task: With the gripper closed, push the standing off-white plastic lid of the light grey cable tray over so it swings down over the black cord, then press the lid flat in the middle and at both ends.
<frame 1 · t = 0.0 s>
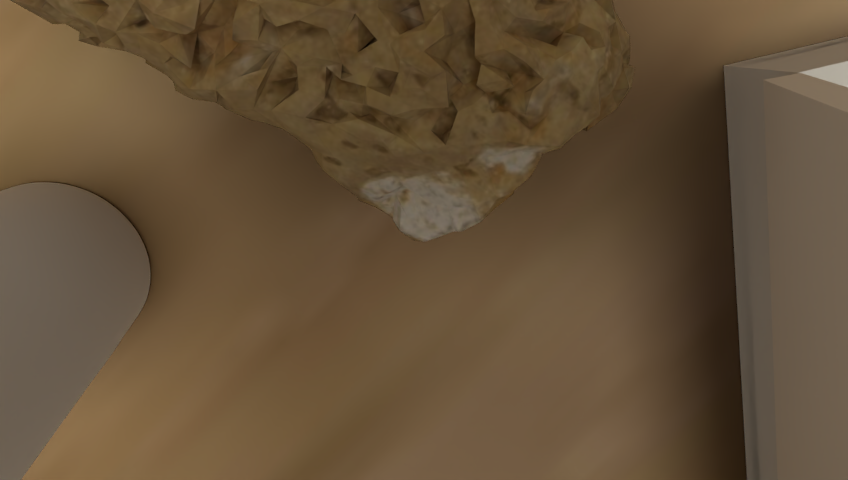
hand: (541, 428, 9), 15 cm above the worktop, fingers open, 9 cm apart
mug: (26, 286, 22), on the worktop
cable tray: (832, 291, 25), on the worktop
lid: (841, 444, 18), point 8 cm above the worktop, hinge at 105.0°
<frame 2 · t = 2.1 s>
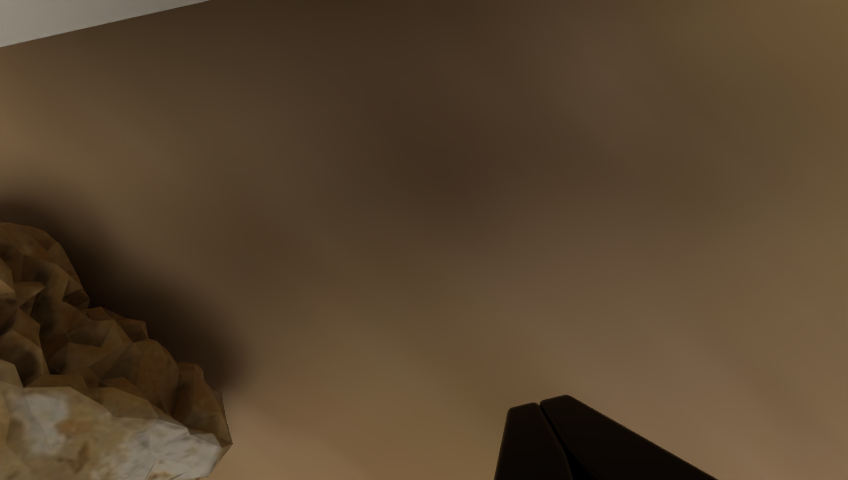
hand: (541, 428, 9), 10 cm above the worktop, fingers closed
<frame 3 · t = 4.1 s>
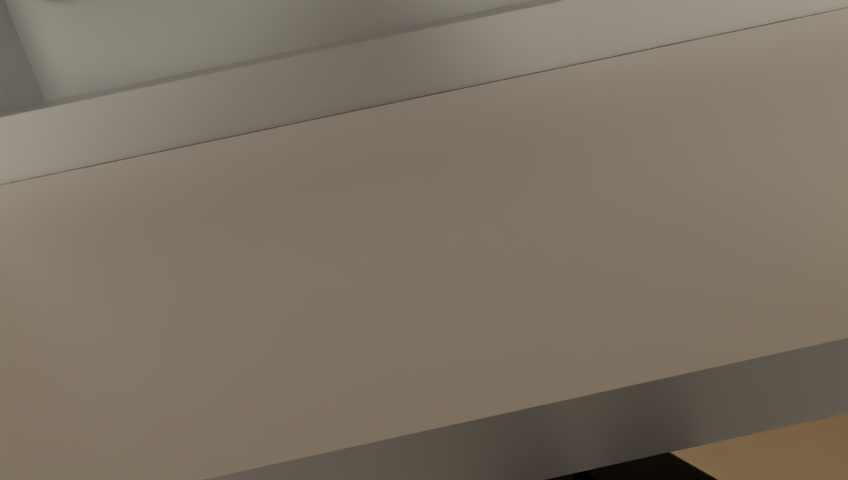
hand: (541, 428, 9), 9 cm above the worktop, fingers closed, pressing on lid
lid: (494, 214, 9), point 8 cm above the worktop, hinge at 101.6°, touching gripper
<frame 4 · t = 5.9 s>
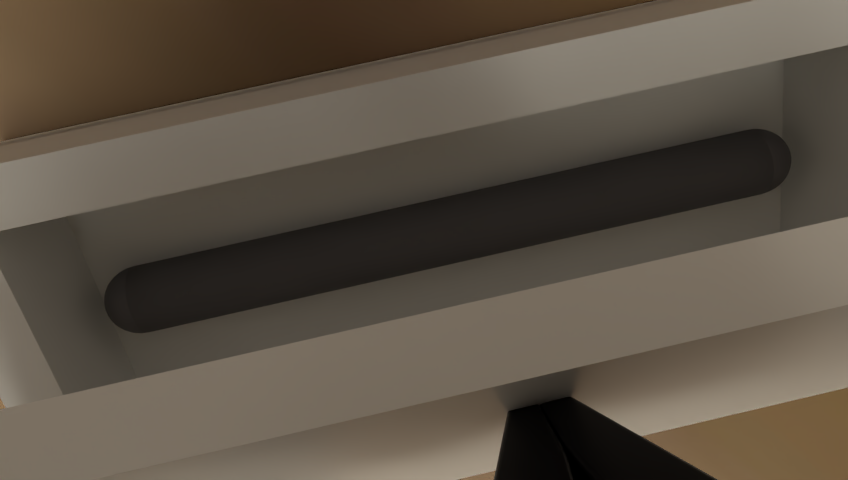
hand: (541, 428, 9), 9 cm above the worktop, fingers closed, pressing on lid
patch cord: (452, 229, 15), in the cable tray, point 1 cm above the worktop
cable tray: (441, 205, 17), on the worktop
lid: (512, 407, 11), point 7 cm above the worktop, hinge at 41.1°, touching gripper
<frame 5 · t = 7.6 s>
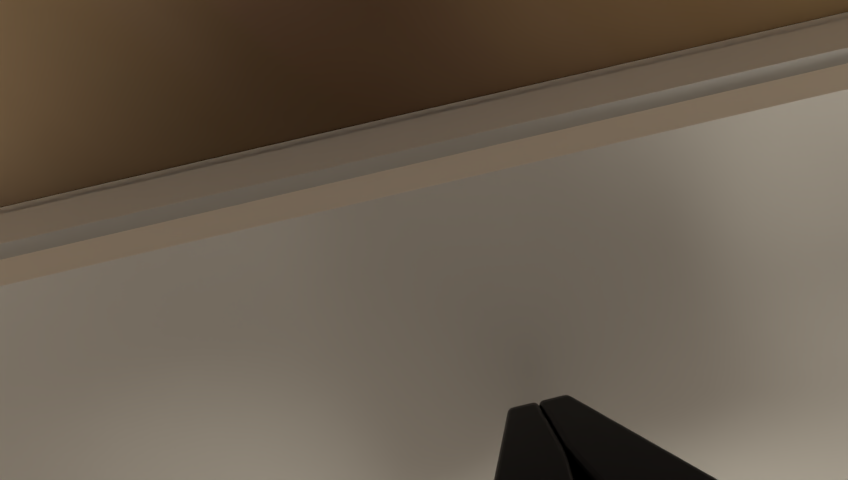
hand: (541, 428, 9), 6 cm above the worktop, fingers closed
cable tray: (476, 278, 14), on the worktop
lid: (531, 403, 10), point 5 cm above the worktop, hinge at 5.8°
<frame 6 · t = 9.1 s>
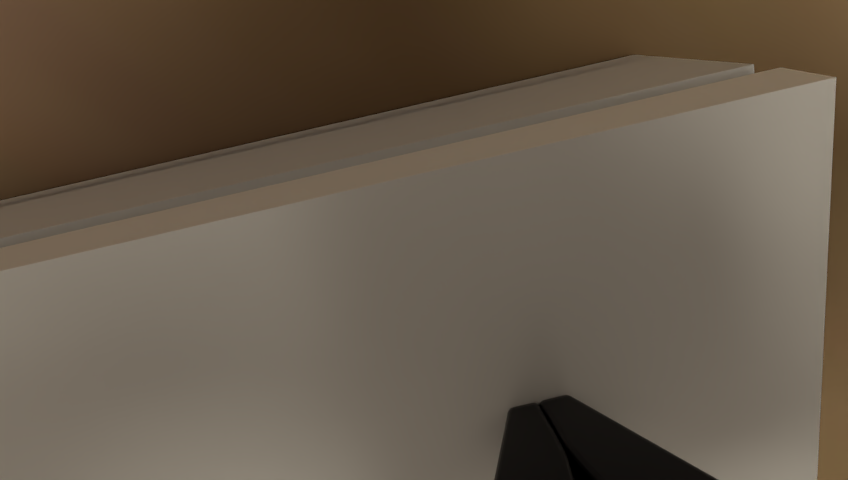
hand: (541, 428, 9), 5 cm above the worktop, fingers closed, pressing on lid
cable tray: (203, 347, 13), on the worktop
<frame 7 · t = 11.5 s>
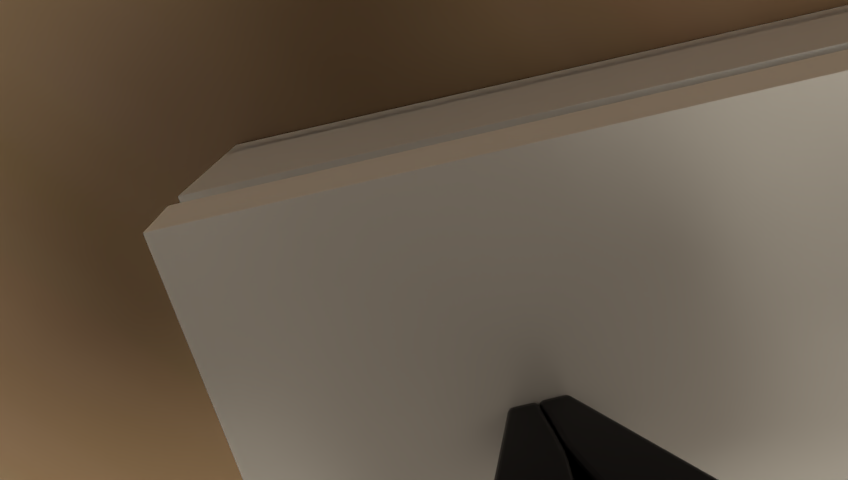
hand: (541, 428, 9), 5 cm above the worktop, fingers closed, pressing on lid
cable tray: (741, 220, 14), on the worktop
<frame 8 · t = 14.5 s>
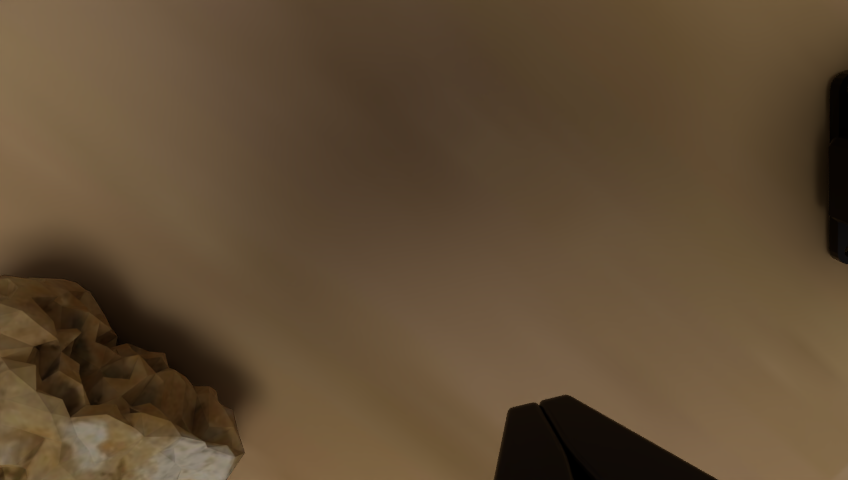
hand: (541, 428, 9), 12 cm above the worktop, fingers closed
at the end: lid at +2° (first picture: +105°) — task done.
